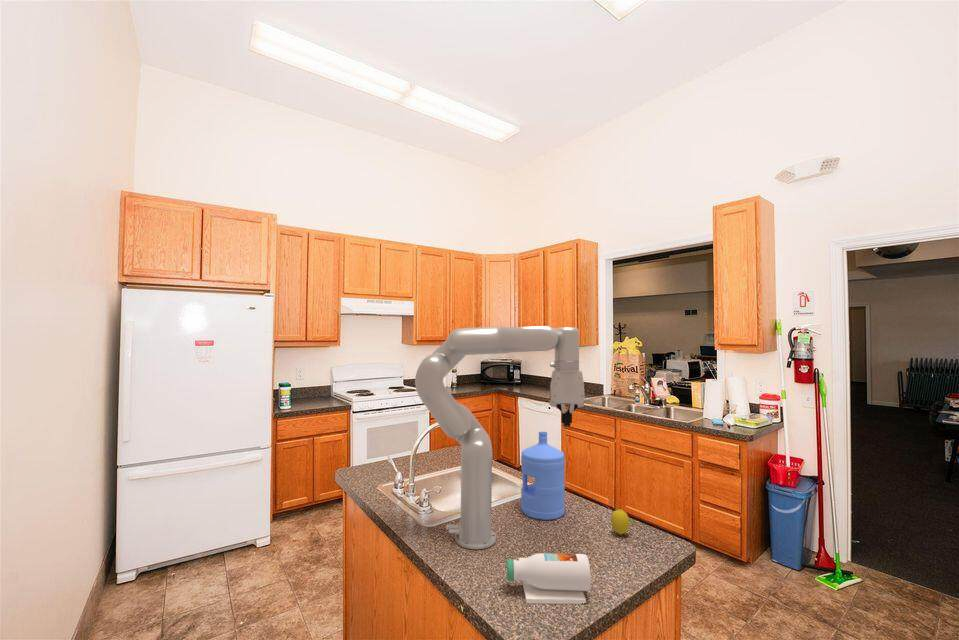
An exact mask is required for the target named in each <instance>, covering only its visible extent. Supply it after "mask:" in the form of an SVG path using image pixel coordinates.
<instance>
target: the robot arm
mask: <svg viewBox="0 0 959 640" xmlns="http://www.w3.org/2000/svg"><path fill="white" fill-rule="evenodd" d="M552 349H554V361H553V362H549V367H550V368H553V370H552V372H551V379H550V387H549V399H550V400H549V404H548V405H549V406H551V407H552V408H556V409H558V410H559V411H560V412H561V415H560V416H561V424H562V425H563V426H564V427H571V424H573V414H574V412H575V411H576V410H577V409H578V408H582V407H584V406H585V398H586V397H585V394H586V393H585V383H584V375H583V371H581V370H580V331H579V329H578V328H577V327H572V326H571V327H570V326H568V327H566V326H564V327H563V326H562V327H561V326H560V327H556V328H555V327H552V326H550V325H539V326H538V325H536V326H534V325H533V326H483V327H482V326H481V327H463V328H455V329H453V330H452V331H451V332H450V333H449V334H448V337H446V339H445V341H443V343H442V344H440V346H439V347H437V348H436V350H434V351H433V352H432V353H431V354H429V355H427V356H426V357H424V358H423V359H422V360H421V362H420V364H419V366H418V368H417V370H416V373H415V377H414V381H415V383H414V385H415V390H416V392H417V393H416V394H417V395H418V397H419V399H420V400H421V402H422V403H423V404H424V406H425V407H426V408H427V410H428V411H429V413H430V414H431V416H432V417H433V419H434V420H435V421H436V422H437V424H438V425H439V427H440V428H441V430H442V431H443V432H444V434H445V435H446V436H447V437H449V438H451V439H454V440H456V441H457V443H458V444H459V445H460V446H461V449H460V450H461V451H460V520H459V523H456V524H451V523H447V524H445V531H446V532H449V535H454V538H455V542H456V544H457V545H458V546H459V547H462V548H465V549H469V550H484V549H487V548H489V547H492V546H493V545H494V544H495V543H496V541H497V534H496V532H495V531H493V530H492V499H493V498H492V493H493V492H492V489H493V488H492V486H493V485H492V481H493V480H492V479H493V476H492V475H493V447H492V441H491V438H490V435H489V434H488V433H487V431H486V430H485V429H484V427H483V426H482V425H481V423H480V422H479V420H478V419H477V418H476V416H474V413H472V412H471V410H470V409H469V408H468V407H467V406H466V405H464V404H463V403H462V404H461V403H459V402H458V401H457V400H456V399H455V398H454V396H453V395H452V393H451V391H449V390H448V388H447V387H446V386H445V384H444V378H445V377H446V376H447V375H448V374H449V373H450V371H452V370H453V369H454V368H455V367H456V366H457V365H458V364H459V363H460V362H461V361H462V360H463V359H464V358H465V357H466V356H473V355H474V356H475V355H493V354H494V355H496V354H497V355H498V354H500V355H501V354H509V353H525V352H549V351H550V350H551V351H552ZM566 405H568V406H567V410H566Z"/></svg>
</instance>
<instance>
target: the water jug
mask: <svg viewBox="0 0 959 640" xmlns="http://www.w3.org/2000/svg"><path fill="white" fill-rule="evenodd" d="M520 462H521V472H522V487H521V490H520V491H521V492H520V493H521V498H520V500H521V501H520V510H521V512H522V513H523V514H524V515H526V516H527V517H529V518H533V519H536V520H540V519H541V521H552V520H556V519H558V518H561V517H562V516H564V514H565V511H566V506H565V490H566V489H565V488H566V485H565V466H566V459H565V453H564V452H563V451H562V450H560V449H558V448H556V447H554V446H552V445H550V444H549V443H548V432H547V431H538V443H536V444H534V445H532V446H531V445H530V446H529V447H527V448H524V449H522V451H521V457H520ZM528 477H532V478H534V483H532V484H530V483H529V484H528Z"/></svg>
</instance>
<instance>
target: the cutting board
mask: <svg viewBox="0 0 959 640" xmlns="http://www.w3.org/2000/svg"><path fill="white" fill-rule="evenodd" d="M526 558H527V557H518V560H523V559H526ZM521 583H522V586H523V587H522V588H523V591H524V593H523V594H524V600H525V604H529V605H530V604H534V605H535V604H538V605H539V604H540V605H541V604H544V605H546V604H547V605H548V604H549V605H551V604H552V605H555V604H556V605H585V604H584V603H586V604H587V599H586V598H587V597H586V596H585V594H584V591H570V590H548V589H540V588H536V587H534V586H532V585H530V584H528V583H526V582H524V581H521ZM582 603H583V604H582Z"/></svg>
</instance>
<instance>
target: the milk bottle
mask: <svg viewBox="0 0 959 640" xmlns="http://www.w3.org/2000/svg"><path fill="white" fill-rule="evenodd" d="M588 557H589V556H588V555H586V554H585V553H563V552H562V553H558V552H557V553H556V552H554V553H553V552H552V553H551V552H549V553H548V552H545V553H534V554H532V555H530V556H528V557H525V558H526V559H523V560H519V559H518V560H516V559H513V558H508V559H507V560H506V581H509V582H513V581H515V582H516V581H521V582H522V581H524V582H526V583H528V584H530V585H532V586H534V587H536V588H540V589H548V590H570V591H583V592H589V591H591V587H592V586H591V585H592V574H591V573H592V572H591V566H590V561H589V558H588Z"/></svg>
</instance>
